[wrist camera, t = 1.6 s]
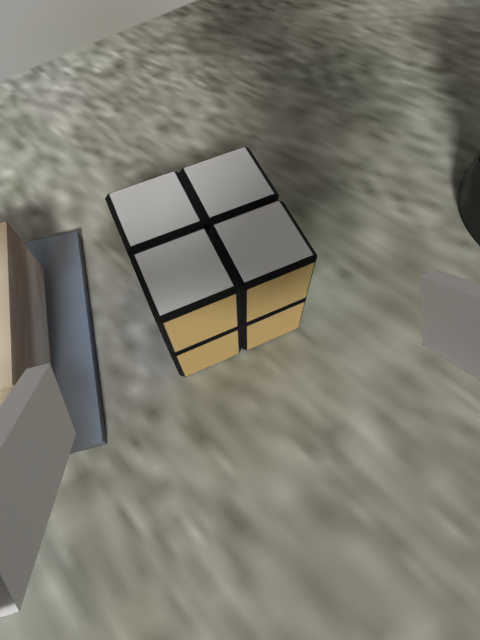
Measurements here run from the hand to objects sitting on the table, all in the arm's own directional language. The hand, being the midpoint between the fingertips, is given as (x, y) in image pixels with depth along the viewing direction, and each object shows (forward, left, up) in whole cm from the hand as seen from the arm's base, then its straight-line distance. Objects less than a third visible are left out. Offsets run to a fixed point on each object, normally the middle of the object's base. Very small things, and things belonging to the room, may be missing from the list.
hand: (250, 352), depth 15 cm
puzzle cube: (0, -11, -17) cm, 20 cm away
